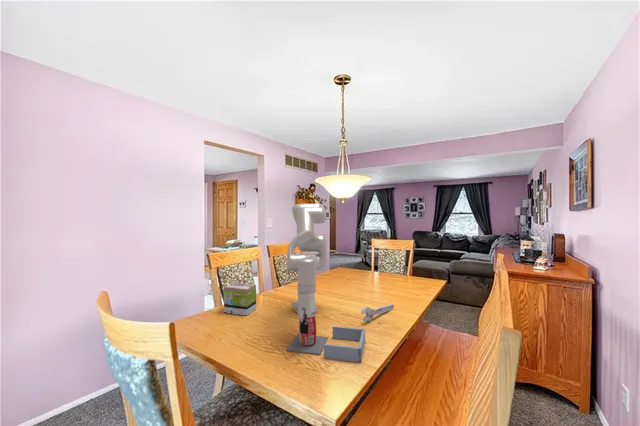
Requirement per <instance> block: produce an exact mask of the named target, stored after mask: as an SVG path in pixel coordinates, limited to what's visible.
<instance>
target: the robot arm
mask: <svg viewBox="0 0 640 426" xmlns="http://www.w3.org/2000/svg"><path fill="white" fill-rule="evenodd" d="M291 209H292V210H291V211H292V216H293V219H294V222H295V224H296V235H294V237H293V238H292V239H291V241H290V242H289V244H288V246H287V250H286V251H287V253H286V267H287V270H288V271H289V272H293V273H296V274H297V276H296V277H297V301H291V303H290V306H291V307H293V308H294V307H295V309H294V311H295V313H296V314H297V316H298V318H299V319H300V333H302V334H308V324H307V321H308V318H309V317H310V316H311V315H312V313H314V316H315V315H316V313H317V312H318V311H319V308H318V307H317V306H316V298H315V295H316V293H317V275H316V274H317V272H323V271H326V269H327V267H328V256H327V255H328V254H327V253H328V252H327V250H328V249H327V239H326V236H324V234H320V233H319V234H316V233H315V225H319V224H322V225H323V224H324V223H325V222H326V219H327V212H326V208H325V207H324V204H322V203H298V204H296V203H295V204H294V205H292V208H291ZM297 248H298V250H299V251H300V252H304V253H302V254H294V251H295V250H296V249H297ZM305 252H311V253H305ZM312 252H316V253H312ZM304 315H307V316H304ZM315 317H316V316H315ZM304 318H306V320H304Z"/></svg>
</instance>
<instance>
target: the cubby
mask: <svg viewBox="0 0 640 426" xmlns="http://www.w3.org/2000/svg"><path fill="white" fill-rule="evenodd" d="M332 339H336V340H346V341H354V342H355V341H356V342H358V346H357V347H356V346H349V345H341V344H339V345H338V344H330V343H326V344H324V348H323V359H329V360H330V359H331V360H336V361H337V360H338V361H346V362H354V363H360V364H361V363H362V360H363V359H362V358H363V353H364V349H365V344H366V329H365V328H357V327H347V326H337V325H332Z"/></svg>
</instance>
